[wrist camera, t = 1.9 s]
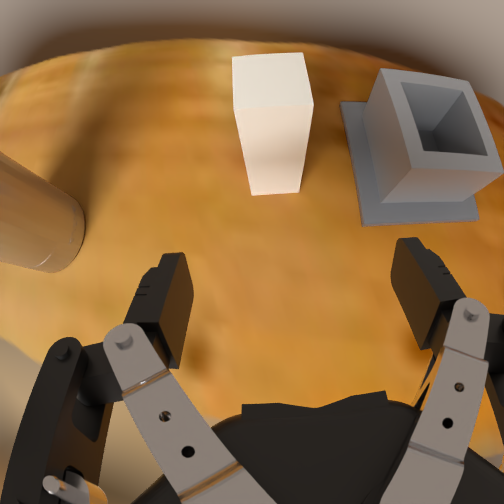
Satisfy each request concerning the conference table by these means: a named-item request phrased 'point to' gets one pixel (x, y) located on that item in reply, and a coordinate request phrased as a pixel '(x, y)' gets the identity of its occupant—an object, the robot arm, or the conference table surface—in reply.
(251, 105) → the white square block
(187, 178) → the conference table surface
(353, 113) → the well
